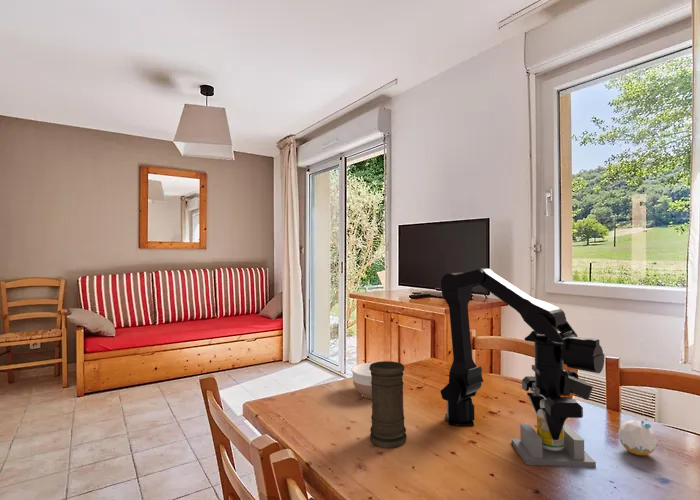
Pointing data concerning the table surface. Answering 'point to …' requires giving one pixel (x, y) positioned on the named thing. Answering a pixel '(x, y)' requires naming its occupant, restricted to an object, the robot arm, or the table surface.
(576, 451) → the holder
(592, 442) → the table surface
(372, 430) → the container
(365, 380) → the bowl
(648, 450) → the ornament
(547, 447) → the supplement bottle
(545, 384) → the robot arm
